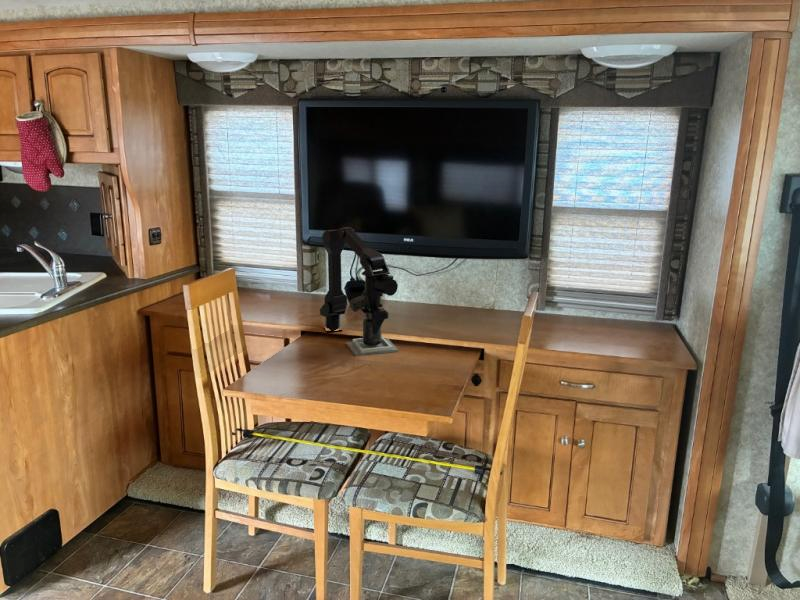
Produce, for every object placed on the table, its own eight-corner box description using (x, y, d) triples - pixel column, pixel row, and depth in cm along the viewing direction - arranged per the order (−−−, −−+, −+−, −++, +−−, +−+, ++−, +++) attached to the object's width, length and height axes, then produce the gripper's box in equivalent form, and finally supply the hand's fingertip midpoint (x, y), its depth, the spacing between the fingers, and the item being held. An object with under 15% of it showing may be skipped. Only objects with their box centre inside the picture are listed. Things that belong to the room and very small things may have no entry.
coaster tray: (346, 344, 224) (346, 339, 224) (387, 340, 229) (387, 335, 229) (355, 355, 213) (355, 350, 213) (398, 351, 219) (398, 346, 218)
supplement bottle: (360, 340, 223) (360, 309, 219) (377, 338, 225) (378, 307, 222) (365, 346, 217) (366, 314, 213) (383, 345, 219) (384, 313, 216)
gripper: (344, 283, 221) (344, 324, 225) (358, 297, 204) (357, 341, 209) (373, 282, 225) (372, 322, 229) (389, 295, 208) (388, 338, 212)
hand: (372, 330), depth 220 cm, fingers closed on supplement bottle, 7 cm apart
